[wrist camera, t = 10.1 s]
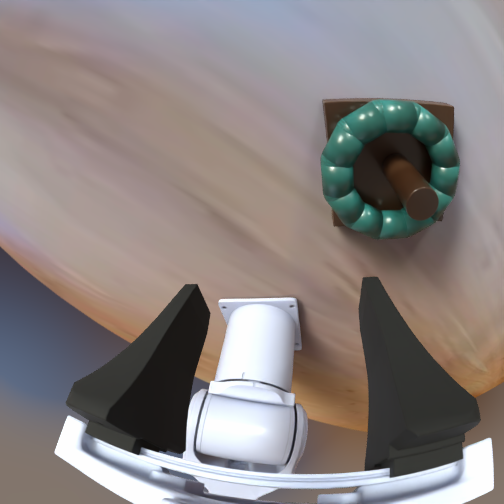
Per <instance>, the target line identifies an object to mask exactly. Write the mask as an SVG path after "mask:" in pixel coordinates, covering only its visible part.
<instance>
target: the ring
mask: <svg viewBox="0 0 504 504" xmlns="http://www.w3.org/2000/svg"><path fill="white" fill-rule="evenodd" d="M385 133H409V134H410V135H411V136H413V137H414V138H416V139H417V140H419V141H420V142H422V143H423V144H424V145H425V147H426V149H427V151H428V153H429V156H430V158H431V160H432V170H431V179H430V183H429V185H430V186H431V187H432V188H433V189H434V191H435V192H436V193H437V195H438V199H439V204H438V208H437V210H436V212H435V213H434V214H433V215H432V216H431V217H430V218H428V219H426V220H422V221H418V220H414V219H412V218H411V217H410V216H409V215H408V214H407V212H406V210H405V208H402V209H401V210H378V209H376V208H374V207H372V206H371V205H369V204H367V203H365V202H363V200H362V199H361V197H360V195H359V194H358V192H357V191H356V189H355V188H354V168H353V166H354V164H355V162H356V160H357V159H358V157H359V155H360V153H361V151H362V150H363V148H364V146H365V145H366V144H368V143H369V142H371V141H373V140H374V139H376V138H378V137H380V136H381V135H383V134H385ZM459 167H460V159H459V156H458V153H457V150H456V148H455V145H454V142H453V140H452V137H451V135H450V132H449V130H448V128H447V126H446V125H445V124H444V123H443V122H442V121H440V120H439V119H438V118H437V117H435V116H434V115H433V114H431V113H430V112H429V111H427V110H426V109H425V108H423V107H422V106H420V105H419V104H417V103H416V102H412V101H402V100H373V101H370V102H369V103H367V104H365V105H364V106H362V107H360V108H358V109H357V110H355V111H353V112H352V113H350V114H349V115H347V116H345V117H344V118H342V119H341V120H340V121H339V122H338V123H337V125H336V127H335V129H334V131H333V133H332V135H331V137H330V139H329V141H328V143H327V145H326V147H325V149H324V151H323V153H322V155H321V172H322V186H323V195H324V197H325V199H326V200H327V202H328V203H329V205H330V206H331V207H332V209H333V210H334V212H335V213H336V214H337V216H338V217H339V219H340V220H341V222H342V223H343V224H344V225H345V226H347V227H349V228H351V229H353V230H355V231H357V232H360V233H362V234H364V235H366V236H368V237H371V238H373V239H398V238H408V237H410V236H412V235H414V234H416V233H418V232H420V231H421V230H423V229H425V228H427V227H429V226H431V225H432V224H434V223H436V221H437V220H438V219H439V218H440V216H441V215H442V214H443V212H444V211H445V209H446V208H447V207H448V205H449V204H450V202H451V201H452V200H453V198H454V196H455V193H456V188H457V181H458V175H459Z"/></svg>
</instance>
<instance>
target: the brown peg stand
mask: <svg viewBox="0 0 504 504" xmlns="http://www.w3.org/2000/svg"><path fill="white" fill-rule="evenodd" d="M373 100H402V101H412V102H416V103H417V104H419V105H420V106H422V107H423V108H425V109H426V110H427V111H429V112H430V113H431V114H433V115H434V116H435V117H437V118H438V119H439V120H440V121H442V122H443V123H444V124H445V125H446V126H447V128H448V130H449V132H450V135H451V137H452V140H453V129H454V107H453V106H451V105H449V104H447V103H441V102H432V101H421V100H407V99H384V98H350V99H326V100H322V103H323V111H324V119H325V127H326V137H327V143H328V141H329V139H330V137H331V135H332V133H333V131H334V129H335V127H336V125H337V123H338V122H339V121H340V120H341V119H342V118H344V117H345V116H347V115H349V114H350V113H352V112H353V111H355V110H357V109H358V108H360V107H362V106H364V105H365V104H367V103H369V102H370V101H373ZM353 168H354V188H355V189H356V191H357V192H358V194H359V195H360V197H361V199H362V200H363V202H365V203H367V204H369V205H371V206H372V207H374V208H376V209H378V210H401V209H402V208H405V210H406V212H407V214H408V215H409V216H410V217H411V218H412V219H414V220H418V221H422V220H426V219H428V218H430V217H431V216H432V215H433V214H434V213H435V212H436V210H437V208H438V204H439V199H438V195H437V193H436V192H435V191H434V189H433V188H432V187H431V186H430V185H429V183H430V179H431V170H432V160H431V158H430V156H429V153H428V151H427V149H426V147H425V145H424V144H423V143H422V142H420V141H419V140H417V139H416V138H414V137H413V136H411V135H410V134H409V133H385V134H383V135H381V136H380V137H378V138H376V139H374V140H373V141H371V142H369V143H368V144H366V145H365V146H364V148H363V150H362V151H361V153H360V155H359V157H358V159H357V160H356V162H355V164H354V166H353ZM443 214H444V212H443ZM443 214H442V215H441V216H440V218H439V219H438V220H437V221H442V219H443ZM332 220H333V225H334V226H345V225H344V224H343V223H342V222H341V220H340V219H339V217H338V216H337V214H336V213H335V212H334V210H333V209H332Z"/></svg>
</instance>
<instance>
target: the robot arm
mask: <svg viewBox="0 0 504 504" xmlns="http://www.w3.org/2000/svg"><path fill="white" fill-rule="evenodd" d="M218 304H219V307H220V309H221V311H222V314H223V316H224V318H225V321H226V323H227V325H228V327H227V331H226V335H225V339H224V343H223V347H222V351H221V355H220V360H219V364H218V368H217V372H216V376H215V380H214V381H211V383H210V387H209V391H208V390H206V389H201V390H200V391H199V392H198V393H196V394H195V395H194V396H193V398H192V400H191V403H190V406H189V402H190V395H191V390H192V384H193V379H194V375H195V371H196V368H197V365H198V362H199V358H200V355H201V352H202V348H203V345H204V342H205V338H206V335H207V331H208V325H209V319H210V311H209V309H208V307H207V304H206V302H205V300H204V298H203V296H202V293H201V291H200V289H199V287H198V284H185V286H184V287H183V288H182V289H181V290H180V291H179V292H178V294H177V295H176V296H175V297H174V298H173V299H172V301H171V302H170V303H169V304H168V305H167V306H166V308H165V309H164V310H163V311H162V312H161V313H160V315H159V316H158V317H157V318H156V319H155V320H154V321H153V322H152V323H151V324H150V325H149V327H148V328H147V329H146V330H145V331H144V332H143V333H142V334H141V335H140V336H139V337H138V338H137V339H136V340H135V341H134V342H133V343H131V344H130V345H129V346H128V347H127V348H126V349H125V350H123V351H122V352H121V353H120V354H118V355H117V356H116V357H115V358H113V359H112V360H111V361H109V362H108V363H107V364H105V365H104V366H102V367H101V368H99V369H98V370H96V371H94V372H93V373H91V374H89V375H88V376H86V377H84V378H82V379H80V380H78V381H76V382H75V383H74V385H73V387H72V389H71V392H70V394H69V396H68V399H67V401H66V405H67V406H68V407H69V408H71V409H72V410H74V411H75V412H77V413H78V414H80V415H81V416H83V417H84V418H86V419H88V420H89V423H88V425H87V424H86V423H84V422H82V421H80V420H78V419H76V418H73V417H71V416H68V417H67V420H66V422H65V425H64V428H63V430H62V433H61V436H60V439H59V441H58V444H57V447H56V450H55V454H56V455H58V456H59V457H61V458H62V459H64V460H65V461H67V462H68V463H70V464H71V465H73V466H74V467H76V468H77V469H79V470H80V471H81V472H83V473H84V474H86V475H87V476H89V477H90V478H92V479H93V480H95V481H96V482H98V483H99V484H101V485H103V486H104V487H106V488H107V489H109V490H111V491H112V492H114V493H116V494H118V495H120V496H121V497H123V498H125V499H127V500H128V501H130V502H132V503H134V504H463V503H465V502H467V501H470V500H472V499H474V498H477V497H479V496H480V495H483V494H485V493H487V492H489V491H491V490H493V488H494V470H493V452H492V443H491V438H487V439H485V440H483V441H480V442H477V443H474V444H472V445H469V446H466V447H464V448H462V442H464V441H465V435H464V433H466V432H467V431H469V430H470V429H472V428H474V427H475V426H476V425H478V423H479V422H480V420H481V419H480V413H479V407H478V404H477V401H476V398H474V397H473V396H472V395H471V394H469V393H468V392H467V391H466V390H465V389H464V388H462V387H461V386H460V385H459V384H458V383H457V382H456V381H455V380H454V379H453V378H452V377H451V376H449V374H448V373H447V372H446V371H445V370H444V369H443V368H442V367H441V366H440V365H439V364H438V363H437V362H436V361H435V360H434V359H433V357H432V356H431V355H430V354H429V353H428V352H427V350H426V349H425V348H424V347H423V345H422V344H421V343H420V342H419V340H418V339H417V338H416V336H415V335H414V334H413V332H412V331H411V329H410V328H409V327H408V325H407V324H406V322H405V321H404V319H403V318H402V316H401V315H400V313H399V312H398V310H397V309H396V307H395V306H394V304H393V302H392V301H391V299H390V297H389V296H388V294H387V292H386V291H385V289H384V287H383V285H382V284H381V282H380V280H379V278H378V277H364V278H363V280H362V288H361V296H360V303H359V320H360V332H361V337H362V343H363V349H364V355H365V361H366V368H367V375H368V389H369V417H368V438H367V449H366V459H365V471H363V472H352V473H338V474H294V473H295V469H296V466H297V464H298V461H299V460H300V459H301V456H302V454H303V452H304V448H305V444H306V439H307V429H308V419H307V414H306V411H305V410H304V409H303V407H302V406H301V404H296V403H295V394H293V393H291V386H292V374H293V360H294V350H301V349H302V341H301V332H300V322H299V313H298V304H297V299H295V298H292V297H291V298H259V299H221V300H219V303H218ZM159 451H163V452H166V451H170V452H174V453H178V454H181V453H183V452H184V453H183V459H180V458H176V457H172V456H169V455H165V454H162V453H159ZM166 468H167V469H171V470H174V471H178V472H181V473H185V474H189V475H193V476H194V477H195V478H196V479H197V480H198V481H199V482H197V481H193V480H189V479H185V478H180V477H177V476H173V475H171V474H170V473H169V471H168V470H167V469H166ZM204 486H205V487H206V488H207V489H208V490H209V493H208V492H203V489H204ZM359 486H360V487H359ZM347 487H357V488H356V489H355V490H354V492H352V493H341V494H320V495H319V496H318V500H317V503H287V502H272V501H261V500H257V498H259V497H260V496H263V495H265V494H267V493H269V492H272V491H274V490H277V489H279V488H287V489H332V488H347Z"/></svg>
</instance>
